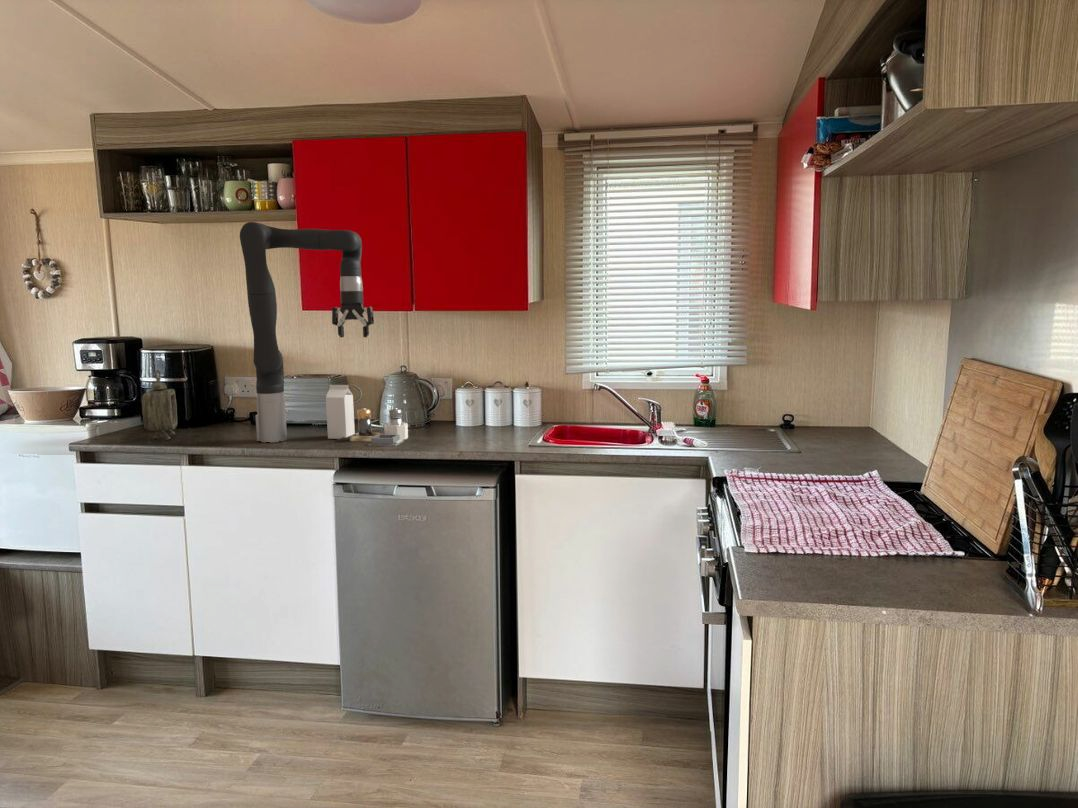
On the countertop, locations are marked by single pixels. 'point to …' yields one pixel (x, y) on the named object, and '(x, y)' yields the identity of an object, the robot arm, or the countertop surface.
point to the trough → (362, 437)
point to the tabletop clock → (159, 408)
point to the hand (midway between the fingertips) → (353, 337)
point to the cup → (397, 430)
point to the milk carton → (339, 412)
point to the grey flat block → (385, 440)
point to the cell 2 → (395, 417)
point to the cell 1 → (364, 422)
